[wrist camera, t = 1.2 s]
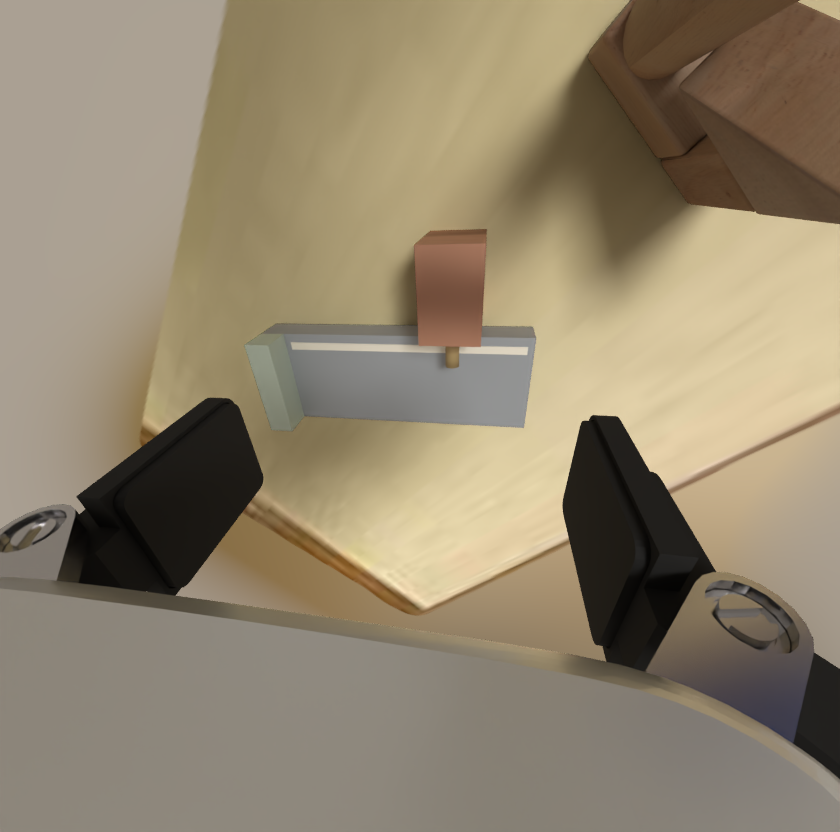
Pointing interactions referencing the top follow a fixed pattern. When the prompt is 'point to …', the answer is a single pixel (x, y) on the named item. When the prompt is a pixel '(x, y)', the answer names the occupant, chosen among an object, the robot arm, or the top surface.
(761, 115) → the brown forked upright piece
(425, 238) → the brown block
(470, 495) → the top surface
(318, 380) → the grey board
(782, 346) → the top surface
